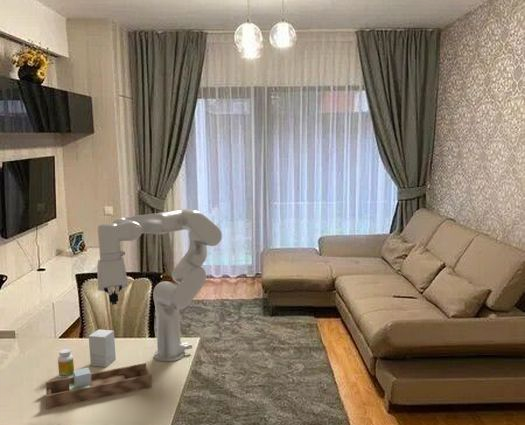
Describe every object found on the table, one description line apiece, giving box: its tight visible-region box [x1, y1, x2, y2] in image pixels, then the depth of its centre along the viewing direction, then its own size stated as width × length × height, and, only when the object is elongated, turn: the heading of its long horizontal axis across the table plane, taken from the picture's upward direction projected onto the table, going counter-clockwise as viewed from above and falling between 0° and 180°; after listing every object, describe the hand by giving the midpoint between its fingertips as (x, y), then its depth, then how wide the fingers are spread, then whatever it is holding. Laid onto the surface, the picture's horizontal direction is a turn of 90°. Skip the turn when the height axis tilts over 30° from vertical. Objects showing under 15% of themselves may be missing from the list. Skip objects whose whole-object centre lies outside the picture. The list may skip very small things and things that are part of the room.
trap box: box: [45, 362, 153, 410], centre depth 172 cm, size 35×11×5 cm, turn 114°
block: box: [73, 367, 92, 388], centre depth 169 cm, size 5×5×6 cm
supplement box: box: [88, 329, 117, 368], centre depth 194 cm, size 7×7×13 cm
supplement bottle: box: [57, 348, 75, 379], centre depth 184 cm, size 5×5×10 cm
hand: (114, 303), depth 181 cm, fingers closed
